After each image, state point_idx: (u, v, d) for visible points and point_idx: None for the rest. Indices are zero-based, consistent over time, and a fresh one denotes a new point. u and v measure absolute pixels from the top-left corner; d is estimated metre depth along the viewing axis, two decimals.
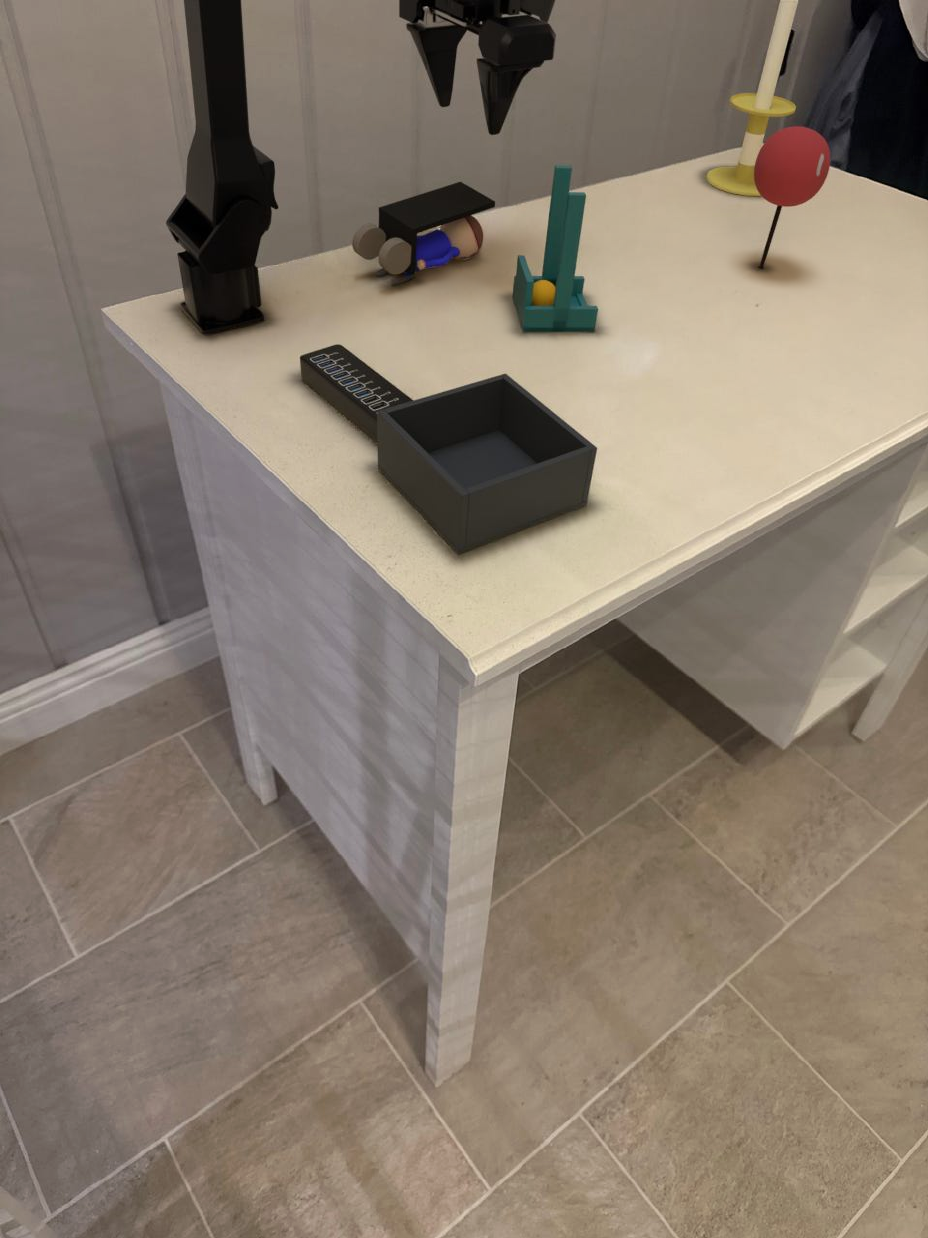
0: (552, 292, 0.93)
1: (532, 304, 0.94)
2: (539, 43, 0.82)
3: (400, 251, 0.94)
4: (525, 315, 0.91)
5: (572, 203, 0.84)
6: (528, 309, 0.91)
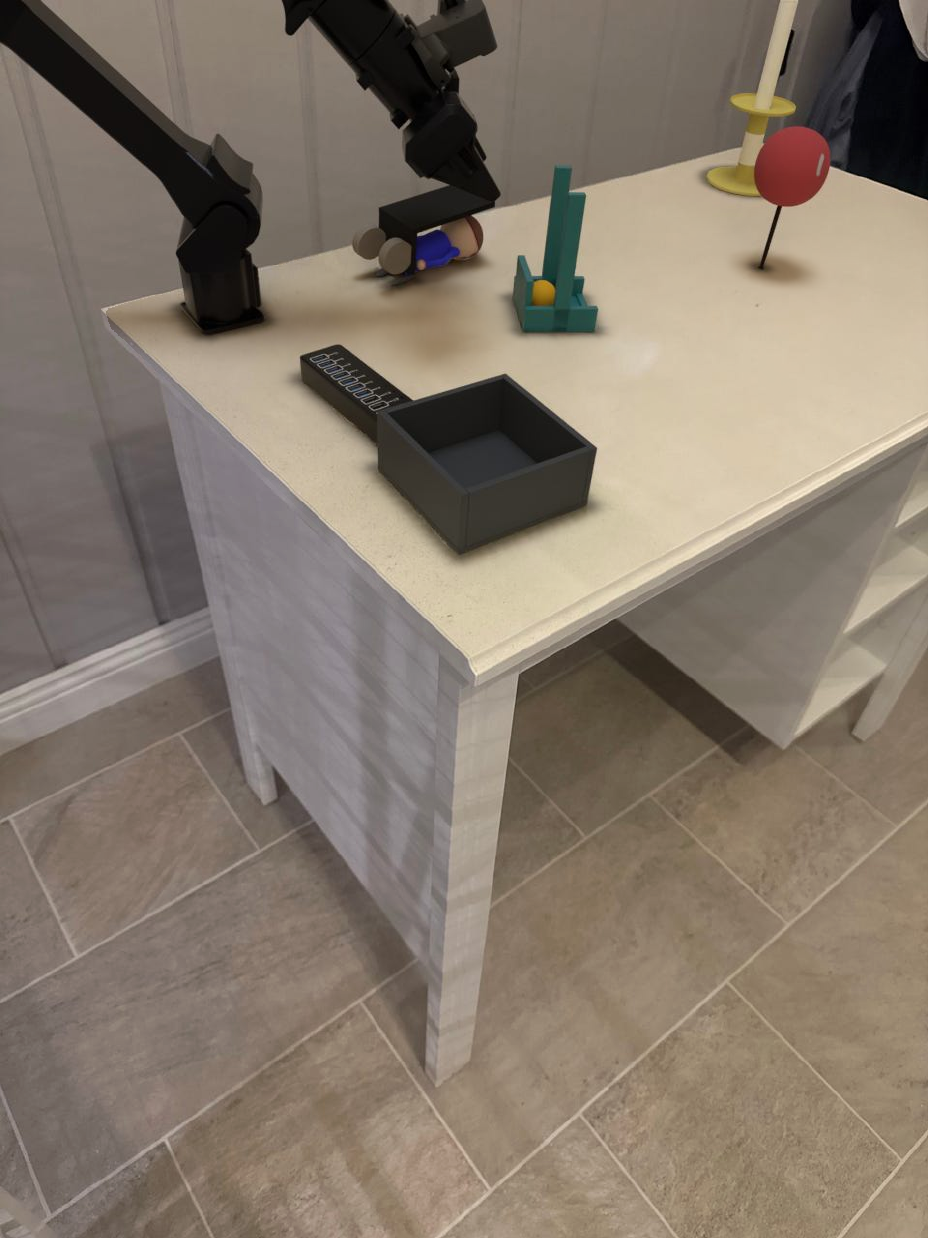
0: (550, 291, 0.93)
1: (531, 305, 0.94)
2: (445, 132, 0.73)
3: (400, 251, 0.94)
4: (525, 315, 0.91)
5: (572, 203, 0.84)
6: (528, 309, 0.91)
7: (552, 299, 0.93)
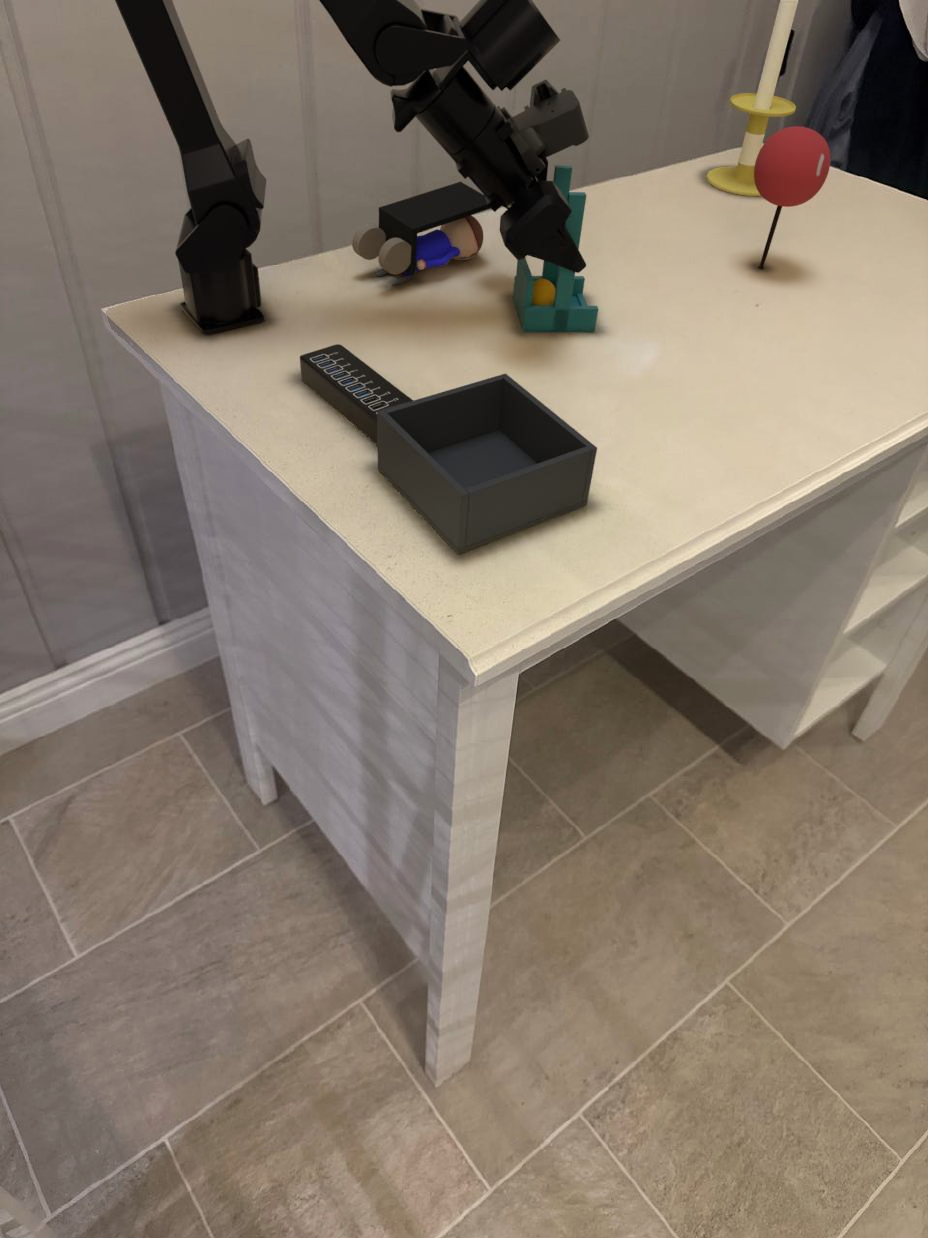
0: (550, 288, 0.93)
1: (532, 302, 0.94)
2: (543, 220, 0.79)
3: (400, 251, 0.94)
4: (525, 315, 0.91)
5: (572, 203, 0.84)
6: (528, 309, 0.91)
7: (552, 296, 0.93)
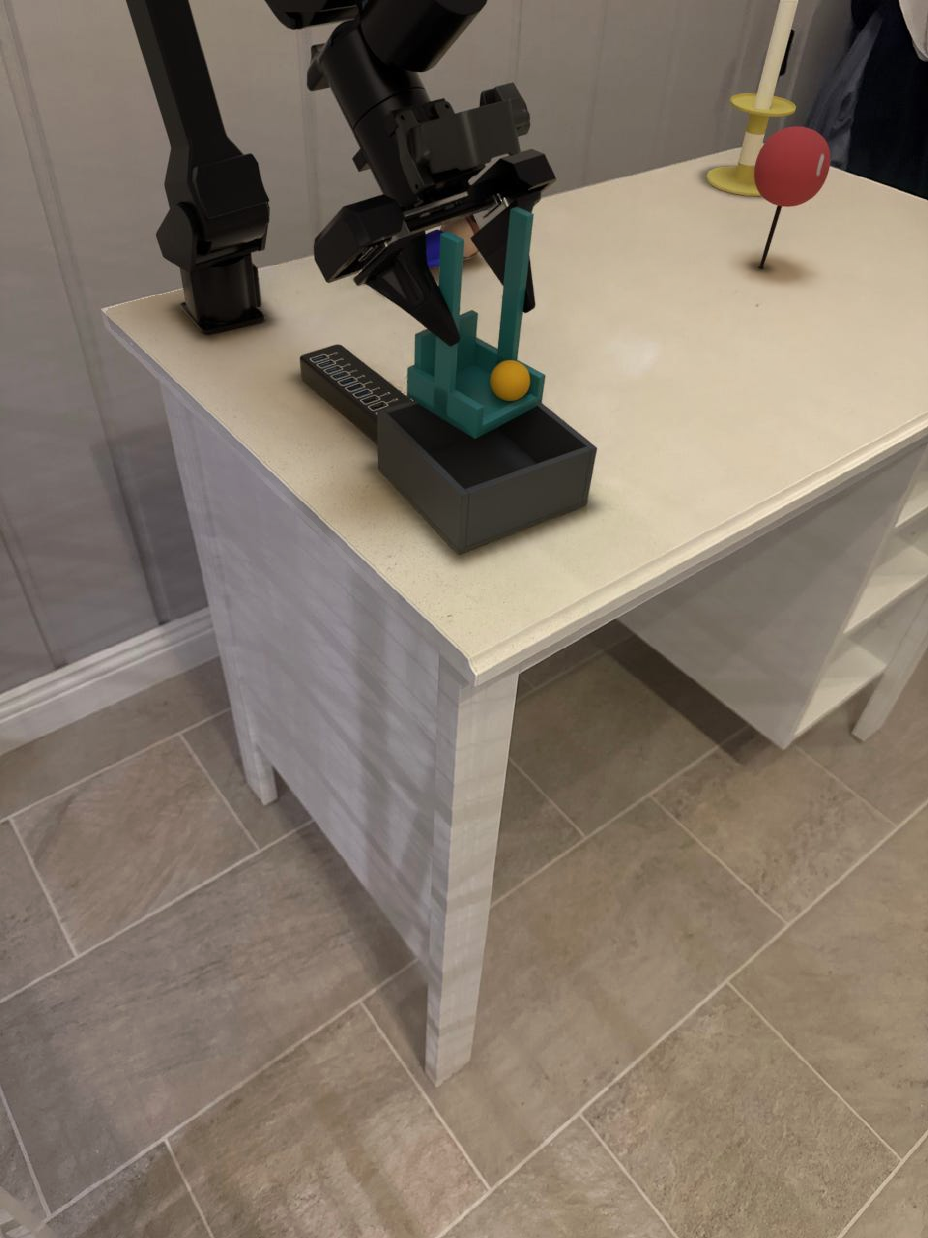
0: None
1: (512, 381, 0.68)
2: (337, 238, 0.58)
3: None
4: (408, 376, 0.69)
5: (443, 247, 0.60)
6: (410, 369, 0.69)
7: (502, 399, 0.69)
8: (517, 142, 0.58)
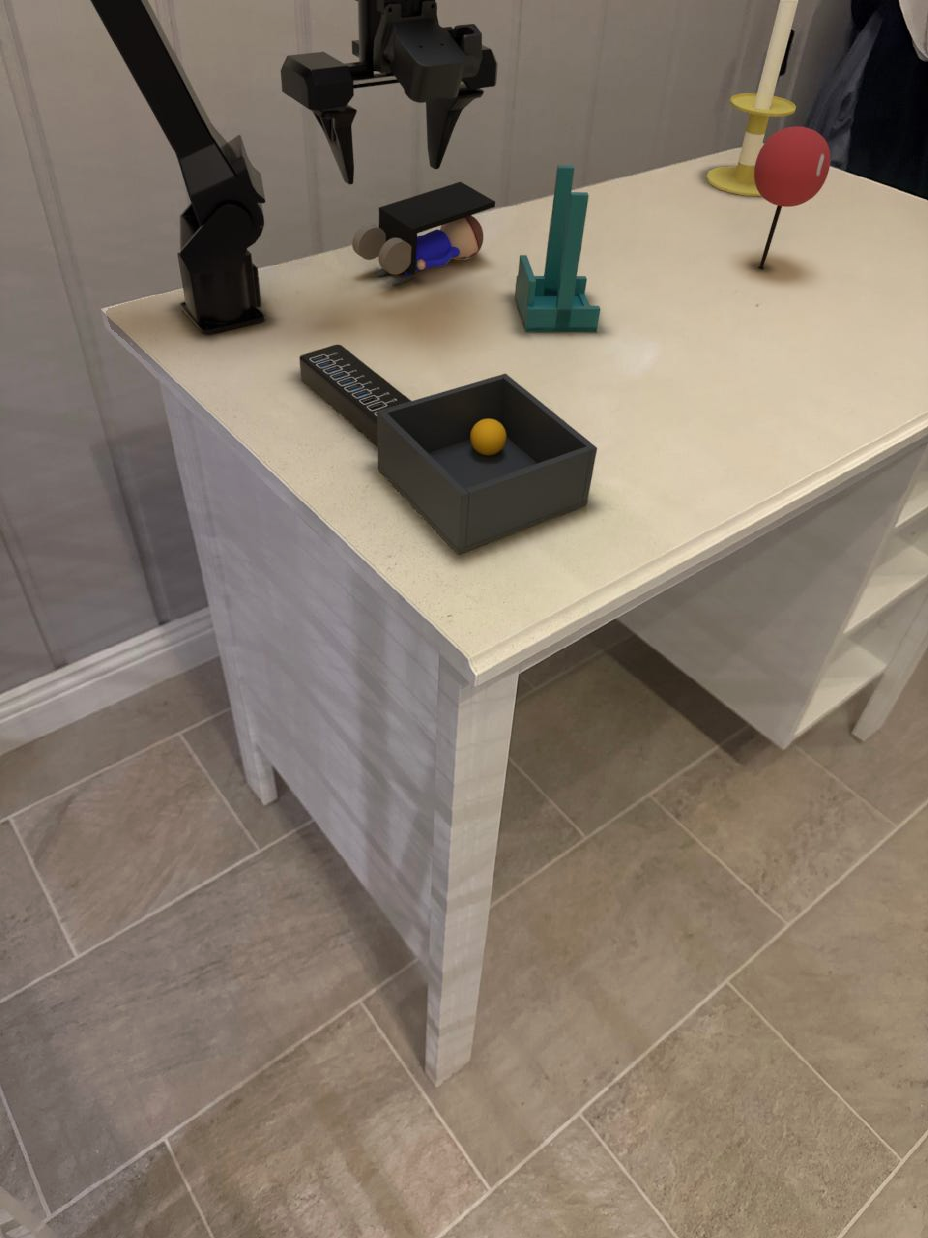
0: (470, 434, 0.75)
1: None
2: (298, 84, 0.75)
3: (400, 251, 0.94)
4: (527, 315, 0.91)
5: (575, 203, 0.84)
6: (530, 309, 0.91)
7: None
8: (456, 90, 0.76)
